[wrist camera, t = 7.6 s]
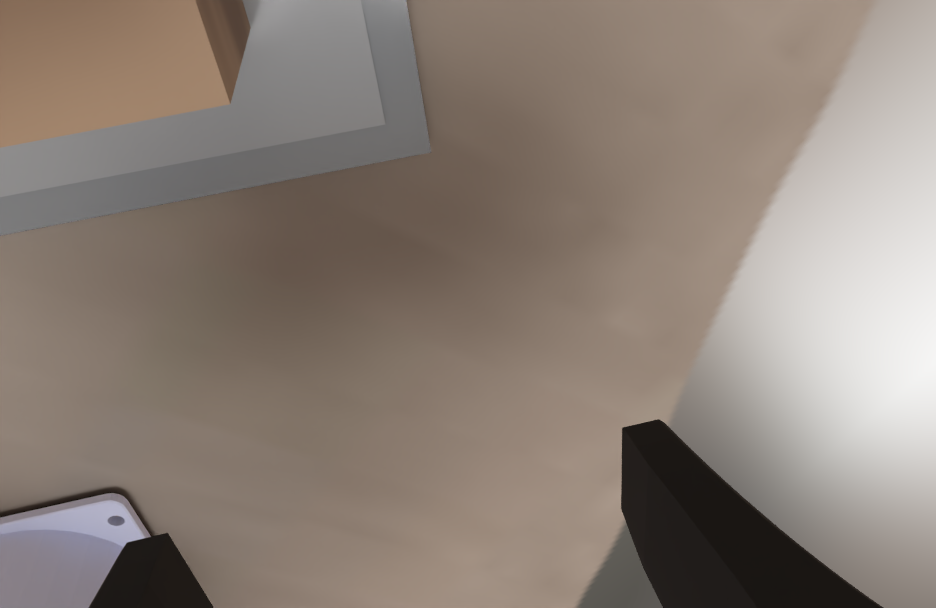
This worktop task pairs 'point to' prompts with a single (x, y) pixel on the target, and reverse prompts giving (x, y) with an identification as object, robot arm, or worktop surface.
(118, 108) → the cube
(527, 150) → the worktop surface
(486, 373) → the worktop surface
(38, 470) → the worktop surface
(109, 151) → the grey framed panel
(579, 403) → the worktop surface
